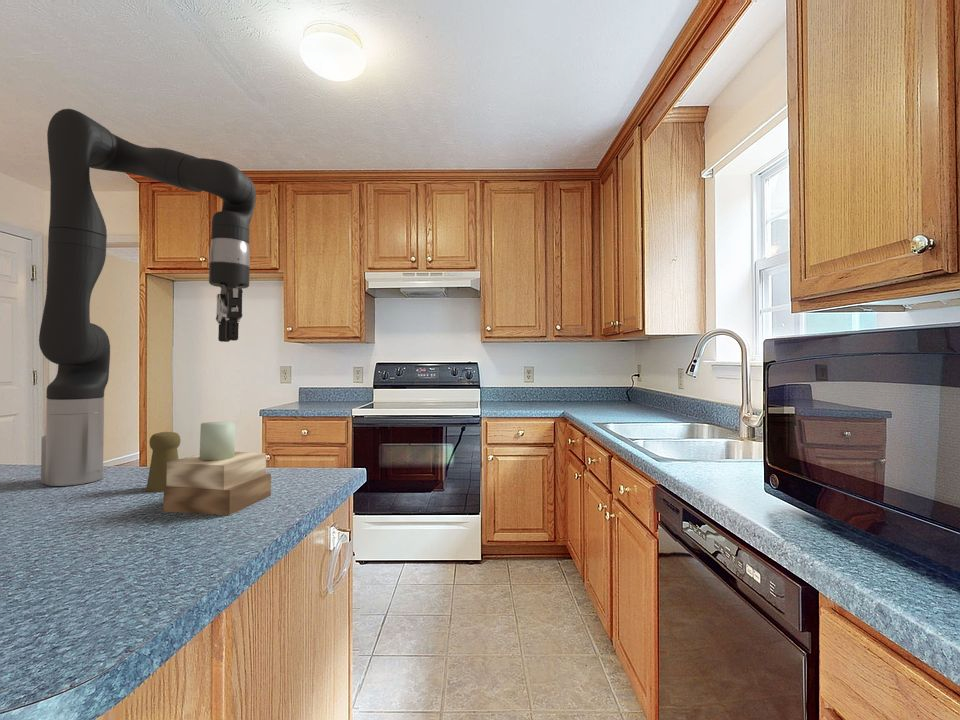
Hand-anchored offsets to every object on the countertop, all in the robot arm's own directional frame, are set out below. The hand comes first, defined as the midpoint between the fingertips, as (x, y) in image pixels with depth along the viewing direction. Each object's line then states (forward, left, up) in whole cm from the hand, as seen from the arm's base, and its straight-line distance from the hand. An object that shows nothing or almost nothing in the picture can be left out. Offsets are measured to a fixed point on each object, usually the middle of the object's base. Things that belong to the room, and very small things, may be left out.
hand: (227, 341), depth 101 cm
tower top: (+8, -14, -25) cm, 30 cm away
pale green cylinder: (+8, -15, -21) cm, 27 cm away
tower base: (+9, -14, -30) cm, 34 cm away
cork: (-9, -6, -30) cm, 32 cm away
